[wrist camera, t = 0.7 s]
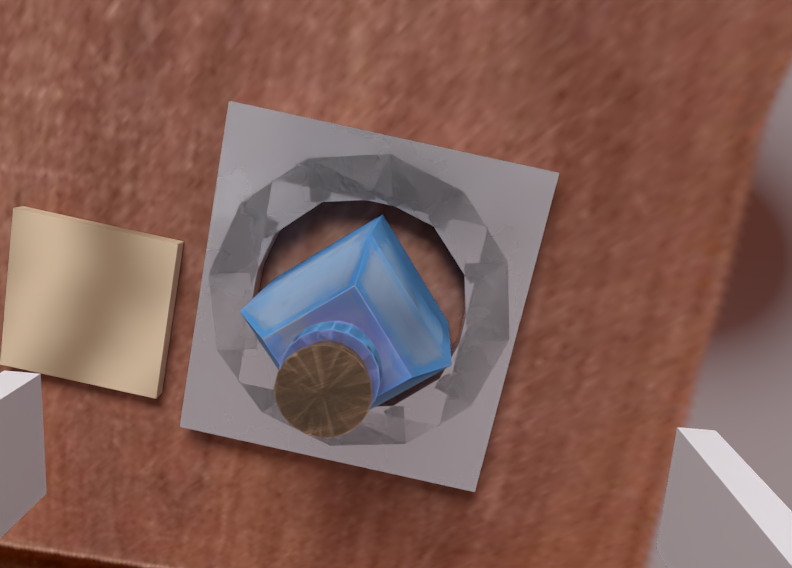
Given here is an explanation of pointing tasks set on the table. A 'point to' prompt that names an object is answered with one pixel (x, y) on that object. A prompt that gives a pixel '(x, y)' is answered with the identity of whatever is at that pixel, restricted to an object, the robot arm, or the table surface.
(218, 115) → the table surface
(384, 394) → the perfume bottle
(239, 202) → the eye plate
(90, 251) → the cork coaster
